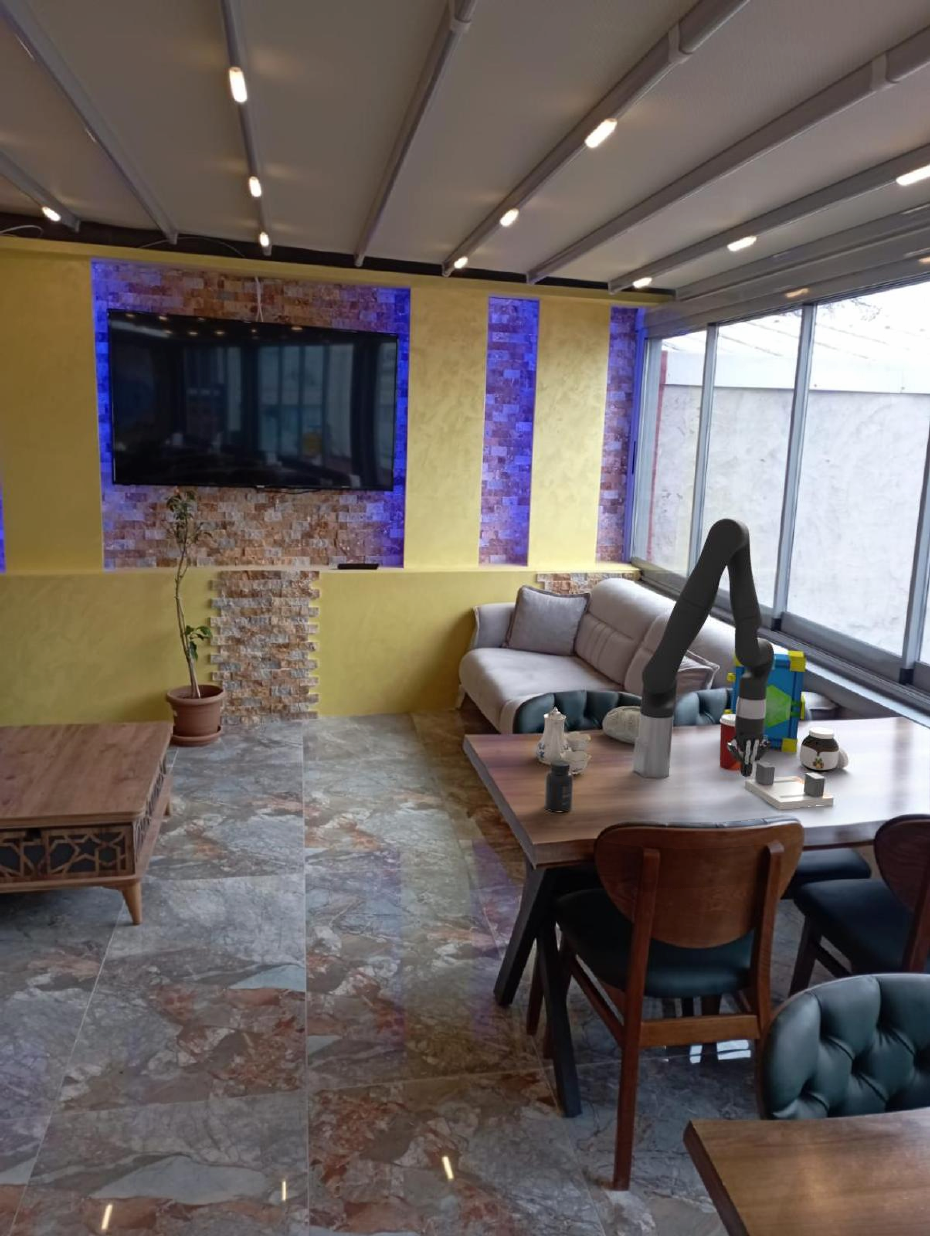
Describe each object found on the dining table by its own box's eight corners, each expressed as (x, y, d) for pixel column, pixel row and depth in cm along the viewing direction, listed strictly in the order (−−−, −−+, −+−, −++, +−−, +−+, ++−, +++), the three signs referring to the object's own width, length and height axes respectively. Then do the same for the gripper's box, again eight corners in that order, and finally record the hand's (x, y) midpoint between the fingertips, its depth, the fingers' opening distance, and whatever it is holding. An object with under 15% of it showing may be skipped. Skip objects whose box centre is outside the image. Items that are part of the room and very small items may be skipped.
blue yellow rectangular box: (800, 755, 270) (810, 659, 264) (722, 747, 275) (730, 653, 270) (796, 741, 283) (805, 650, 278) (721, 733, 289) (729, 644, 284)
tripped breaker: (763, 785, 238) (765, 767, 237) (755, 780, 241) (756, 762, 240) (773, 784, 238) (775, 766, 237) (764, 779, 242) (766, 761, 241)
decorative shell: (621, 751, 269) (623, 719, 267) (590, 733, 285) (592, 703, 283) (670, 745, 276) (672, 714, 274) (637, 728, 292) (639, 699, 290)
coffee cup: (746, 773, 253) (751, 722, 250) (716, 770, 254) (721, 720, 252) (743, 763, 261) (748, 714, 258) (714, 760, 262) (719, 712, 260)
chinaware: (594, 785, 244) (603, 728, 241) (533, 776, 244) (543, 719, 241) (585, 752, 272) (594, 700, 268) (531, 744, 272) (539, 692, 269)
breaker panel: (779, 809, 227) (780, 802, 227) (744, 786, 242) (745, 779, 242) (832, 805, 231) (833, 797, 231) (795, 783, 246) (795, 776, 246)
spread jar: (795, 767, 259) (799, 729, 257) (809, 758, 267) (813, 721, 265) (837, 778, 251) (841, 739, 249) (850, 769, 259) (855, 730, 257)
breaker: (813, 797, 230) (815, 778, 229) (803, 791, 234) (805, 773, 233) (823, 796, 231) (825, 778, 230) (813, 790, 235) (815, 772, 234)
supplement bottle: (569, 803, 227) (572, 758, 225) (573, 813, 220) (576, 767, 218) (542, 802, 226) (545, 757, 224) (546, 813, 220) (548, 767, 218)
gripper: (736, 719, 230) (732, 783, 233) (780, 716, 233) (775, 778, 236) (720, 711, 237) (716, 773, 240) (763, 708, 240) (758, 769, 243)
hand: (745, 775), depth 238 cm, fingers closed
